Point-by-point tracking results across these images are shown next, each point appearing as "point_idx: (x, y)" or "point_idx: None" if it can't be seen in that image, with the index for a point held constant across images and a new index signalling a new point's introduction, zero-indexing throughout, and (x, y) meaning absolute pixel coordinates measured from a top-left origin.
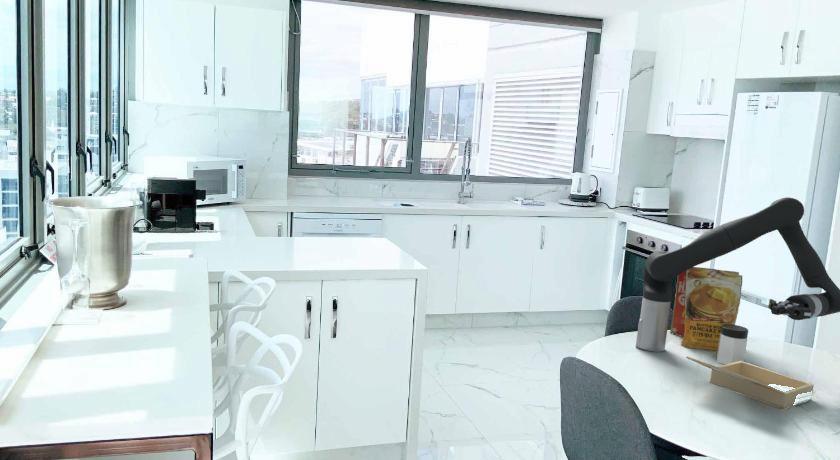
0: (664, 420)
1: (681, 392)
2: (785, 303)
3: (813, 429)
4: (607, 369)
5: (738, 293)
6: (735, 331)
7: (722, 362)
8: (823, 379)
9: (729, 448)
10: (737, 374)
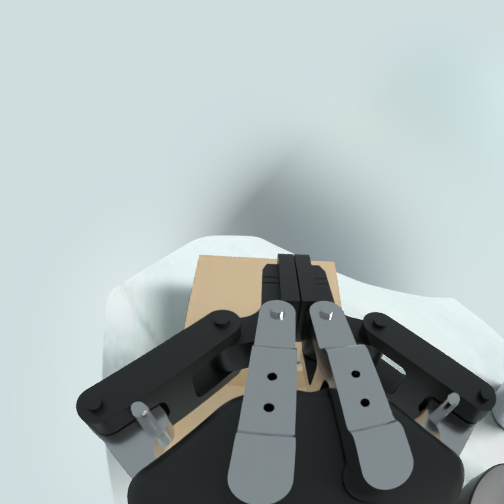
0: (264, 248)
1: None
2: (327, 354)
3: (127, 334)
4: (412, 294)
5: None
6: (475, 483)
7: None
8: None
9: (194, 244)
10: (236, 257)
